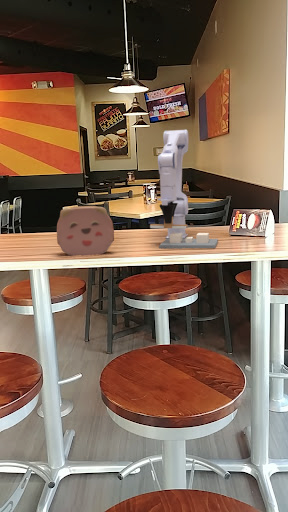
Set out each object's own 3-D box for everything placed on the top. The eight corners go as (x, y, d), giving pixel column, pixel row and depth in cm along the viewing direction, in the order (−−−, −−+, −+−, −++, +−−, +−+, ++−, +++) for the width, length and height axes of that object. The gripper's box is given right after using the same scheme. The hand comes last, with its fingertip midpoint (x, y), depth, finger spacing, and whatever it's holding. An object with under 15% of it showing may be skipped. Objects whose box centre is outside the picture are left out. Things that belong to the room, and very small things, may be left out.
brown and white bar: (151, 226, 169) (151, 215, 168) (187, 227, 165) (187, 216, 164) (149, 227, 166) (149, 216, 165) (186, 228, 162) (186, 217, 161)
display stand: (166, 241, 174) (166, 231, 173) (217, 241, 169) (217, 231, 168) (159, 248, 161) (159, 236, 160) (214, 248, 156) (214, 237, 155)
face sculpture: (57, 257, 152) (53, 208, 149) (59, 253, 159) (55, 207, 156) (115, 254, 153) (112, 206, 150) (114, 250, 160) (112, 204, 157)
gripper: (161, 185, 170) (162, 220, 173) (152, 187, 157) (154, 225, 159) (179, 185, 169) (180, 220, 171) (172, 187, 155) (173, 225, 157)
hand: (169, 222), depth 165 cm, fingers closed on brown and white bar, 2 cm apart
